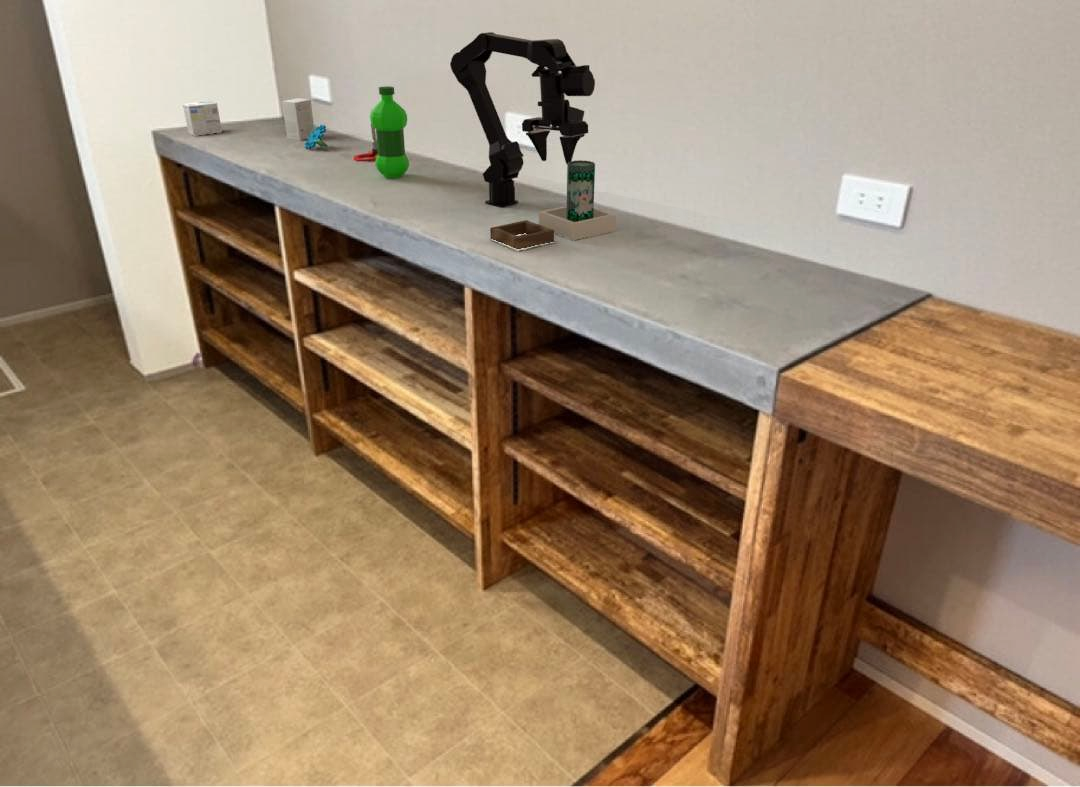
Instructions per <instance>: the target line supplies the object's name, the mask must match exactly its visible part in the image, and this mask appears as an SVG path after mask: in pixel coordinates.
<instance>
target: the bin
mask: <svg viewBox="0 0 1080 787" xmlns="http://www.w3.org/2000/svg"><path fill="white" fill-rule="evenodd" d="M566 211H567V205H565V206H561V207H555V208H550V209H545V210H541V211H538V225H541V226H544V227H546V228H549V229H552V230H554V233H556V234H559V235H562V236H564V237H567V238H569V239H572V240H576V239H580V240H583V239H582V238H584V239H587V238H586V237H588V238H592V237H591V236H593V237H596V235H597V236H600V234H601V235H604V233H605V234H609V233H612V232H616V221H617V220H616V219H617V218H616V217H617V214H615V213H613V212H608V211H605V210H603V209H600V208H598V207H594V211H593V218H591V219H587V220H583V221H578V222H572V221H569V220H566ZM556 234H555V235H556ZM559 235H558V236H559ZM564 237H563V238H564ZM567 238H566V239H567ZM569 239H568V240H569ZM572 240H571V241H572ZM576 241H577V240H576Z"/></svg>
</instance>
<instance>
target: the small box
mask: <svg viewBox="0 0 1080 787" xmlns="http://www.w3.org/2000/svg"><path fill="white" fill-rule="evenodd" d="M281 103H282V104H281V105H282V109H283V110H282V111H283V118H284V124H285V125H284V126H285V131H286V139H287V140H290V139H291V141H292V140H293V141H299V140H300V141H303V140H307V138H308V136H310V137H311V132H312V131H315V125H314V117H313V115H314V114H313V108H312V101H311V99H309V98H299V97H297V98H293V99H288V100H283V101H281Z"/></svg>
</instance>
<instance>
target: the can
mask: <svg viewBox="0 0 1080 787" xmlns="http://www.w3.org/2000/svg"><path fill="white" fill-rule="evenodd" d="M566 165H567V166H566V167H567V168H566V169H567V170H566V174H567V176H566V206H567V211H566V220H569V221H572V222H578V221H583V220H587V219H591V218H593V211H594V208H595V207H594V206H595V205H594V204H595V183H596V182H595V179H596V178H595V174H596V163H595V162H594V161H589V160H581V159H580V160H579V159H578V160H572V161H571V162H568V163H567V164H566Z"/></svg>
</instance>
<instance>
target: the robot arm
mask: <svg viewBox="0 0 1080 787" xmlns="http://www.w3.org/2000/svg"><path fill="white" fill-rule="evenodd" d="M493 53H499V54H503V55H510V56H513V57H514V56H515V57H520V58H523V59H526V60H528V61H529V62H530V63H532V64H535V65H536V69H535V70H534V71H533V72H532V73H531V77H532V78H537V77H539V87H540V101H537V107H540V108H541V116H540V117H538V116H537V117H531V118H530V117H529V118H525V119H524V120H523V121H522V122H521V128H522V129H521V130H522V132H526V133H525V136H528V138H529V140H530V141H531V143H532V145H533V146H534V148H535V150H536V151H537V154H538V155H539V157H540V159H541V161H542V162H545V161H546V162H547V155H548V154H547V153H548V152H547V151H548V150H547V149H548V148H547V146H548V144H547V143H548V142H547V139H548V137H549V134H550V132H551V131H556V132H557V131H558V132H559V133H560V135H561V136H559V140H560V146H561V150H562V153H563V157H564V160H565V164H566V165H567V163H568V162H571V161H573V158H574V152H575V150H576V147H577V144H578V142H579V141H580V140H581V138H583V137H585V136H586V134H588V133H589V124H588V122H586V121H585V120H584V117H585V111H584V110H583V109H581V108H577V107H573V106H570V101H569V99H565V97H591V96H592V95H593V93H594V91H595V85H596V80H595V77H594V74H593V73H592V71H591V70H590V65H589V64H584V65H576V63H575V62H574V60H573V59H572V57H571V56H570V54H569V53H568V51H567V48H566V45H565V43H564V41H563V40H562V39H559V38H551V39H534V40H533V39H526V38H521V37H516V36H515V37H514V36H509V35H504V34H497V33H494V32H493V31H489V32H481V33H479V34H478V35H477V36H476V37H474V39H473V40H472V41H471V42H470V43H468V44H466V45H465V46H463V48H461V49H460V50H459V51H457V52H456V53H454V54H452V57H451V60H450V62H449V64H450V69H451V71H452V73H453V75H454V76H455V78H456V80H457V82H458V83H459V85H461V86H462V87H463V88H464V89H465V90H466V91H467V93H468V96H469V99H470V100H471V103H472V105H473V108H474V110H475V113H476V115H477V118H478V120H479V122H480V125H481V127H482V130H483V132H484V135H485V137H486V139H487V142H488V145H489V148H488V160H489V166H488V167H487V168H486V170H484V172H482V176H483V180H484V182H486V183H488V195H489V196H488V197H489V198H488V200H487V199H486V200H485V201H484V203H485V204H488V205H491V206H492V205H493V206H496V207H501V208H504V207H507V206H511V205H515V204H519V200H517V199H516V189H515V188H516V187H515V180H514V179H518V176H519V174H520V171H521V170H522V168H523V166H524V159H523V157H524V156H525V155H524V154H523V153H522V151H521V147H520V144H519V142H518V141H513V142H512V140H510V139H509V138H508V136H507V134H506V132H505V129H504V126H503V124H502V121H501V118H500V117H499V113H498V112H497V109H496V106H495V104H494V101H493V98H492V96H491V94H490V91H489V88H488V86H487V83H486V78H487V68H486V63H487V62H488V61H489V59H490V58H491V56H492V54H493Z"/></svg>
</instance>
